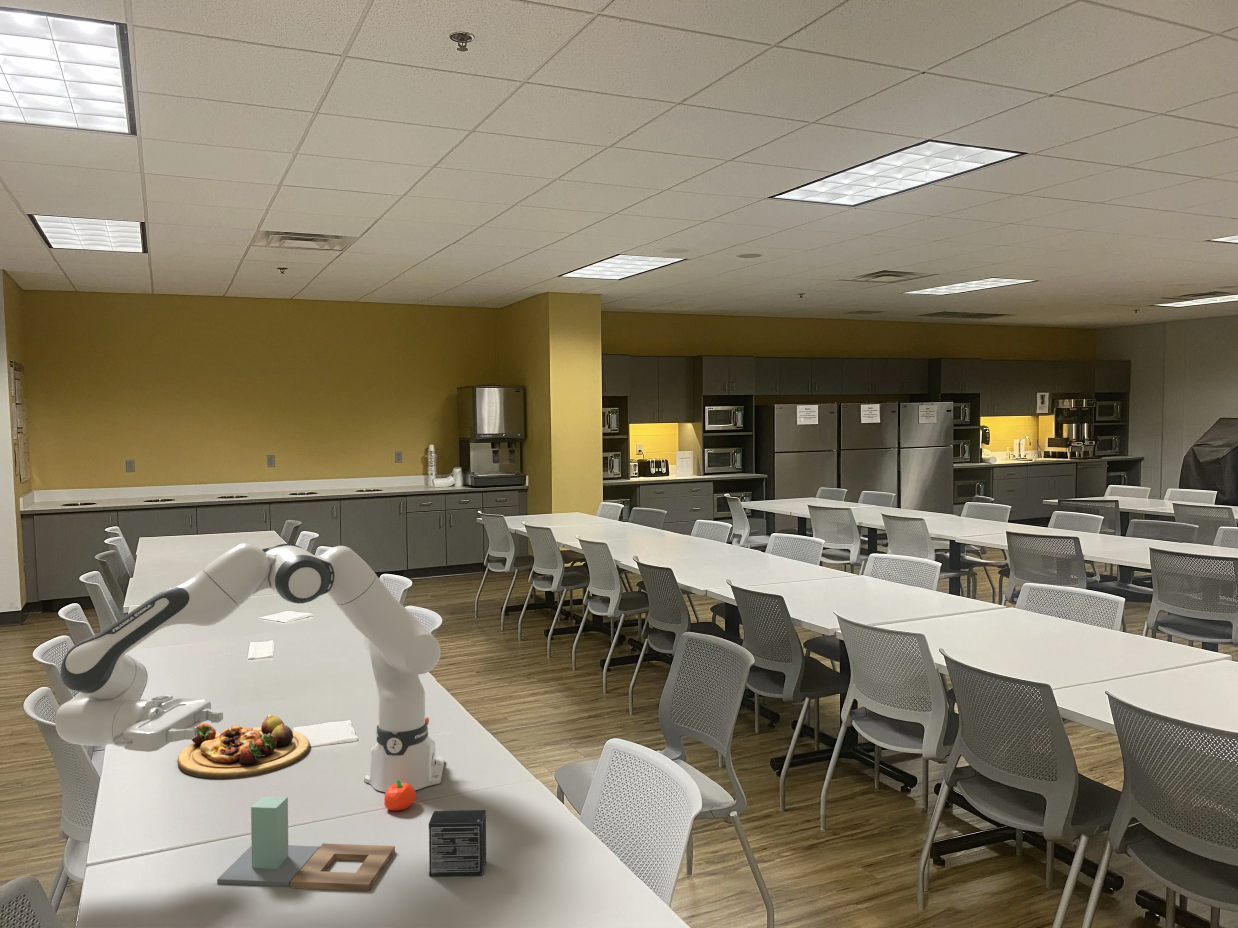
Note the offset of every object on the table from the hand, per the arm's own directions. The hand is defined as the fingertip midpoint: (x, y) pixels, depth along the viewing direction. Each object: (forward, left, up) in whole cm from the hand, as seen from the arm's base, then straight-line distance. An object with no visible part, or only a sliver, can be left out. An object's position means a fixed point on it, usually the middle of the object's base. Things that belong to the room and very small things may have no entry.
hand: (208, 725), depth 170 cm
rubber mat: (0, +12, -28) cm, 30 cm away
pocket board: (0, +27, -28) cm, 39 cm away
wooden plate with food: (-56, -22, -29) cm, 67 cm away
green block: (0, +12, -27) cm, 30 cm away
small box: (-2, +49, -28) cm, 57 cm away
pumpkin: (-28, +29, -28) cm, 49 cm away
